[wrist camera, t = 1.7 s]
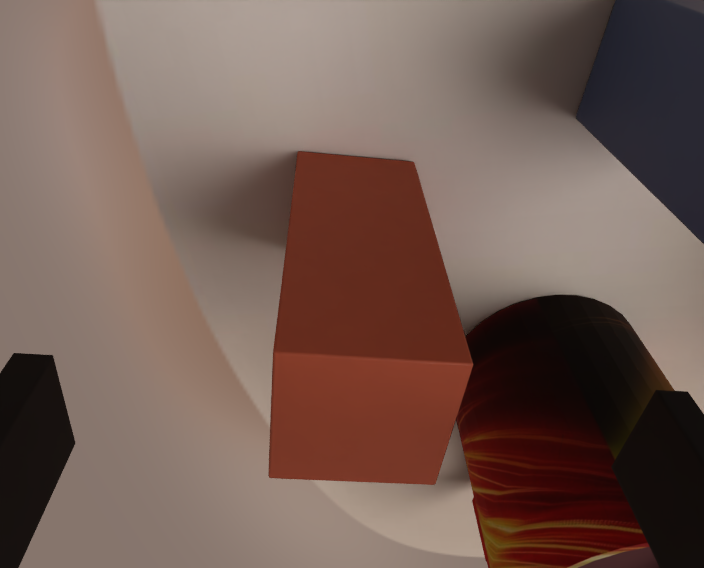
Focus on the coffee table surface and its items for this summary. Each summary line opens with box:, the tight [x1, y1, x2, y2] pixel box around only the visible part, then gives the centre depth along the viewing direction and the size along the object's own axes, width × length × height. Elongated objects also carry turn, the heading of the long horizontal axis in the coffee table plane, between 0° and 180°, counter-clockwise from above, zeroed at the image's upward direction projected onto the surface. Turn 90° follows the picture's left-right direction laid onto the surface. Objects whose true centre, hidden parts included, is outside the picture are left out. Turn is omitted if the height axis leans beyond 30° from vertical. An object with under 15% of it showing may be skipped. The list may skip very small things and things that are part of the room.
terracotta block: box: [269, 152, 473, 485], centre depth 16 cm, size 4×4×10 cm
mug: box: [456, 295, 674, 568], centre depth 22 cm, size 8×12×10 cm
